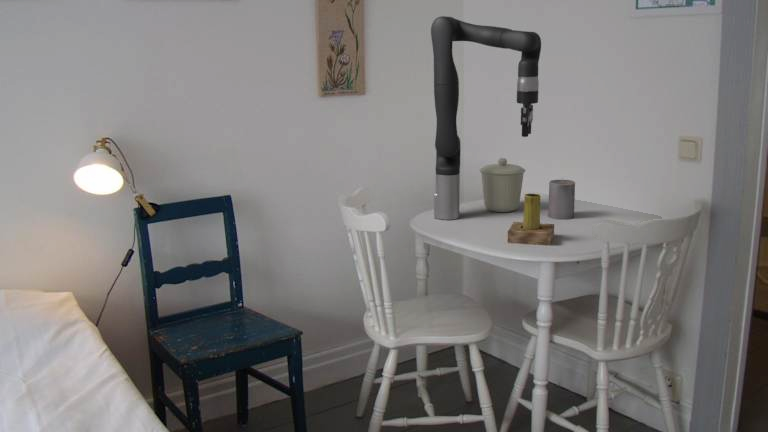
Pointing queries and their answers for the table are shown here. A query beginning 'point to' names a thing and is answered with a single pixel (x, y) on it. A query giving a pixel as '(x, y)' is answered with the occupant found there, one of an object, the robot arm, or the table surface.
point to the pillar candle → (561, 199)
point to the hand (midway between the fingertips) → (526, 135)
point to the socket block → (531, 234)
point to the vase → (531, 212)
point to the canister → (502, 186)
